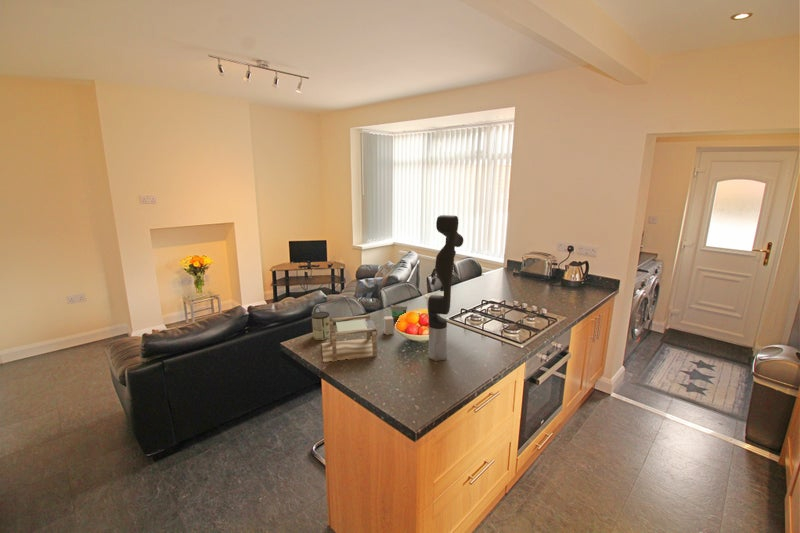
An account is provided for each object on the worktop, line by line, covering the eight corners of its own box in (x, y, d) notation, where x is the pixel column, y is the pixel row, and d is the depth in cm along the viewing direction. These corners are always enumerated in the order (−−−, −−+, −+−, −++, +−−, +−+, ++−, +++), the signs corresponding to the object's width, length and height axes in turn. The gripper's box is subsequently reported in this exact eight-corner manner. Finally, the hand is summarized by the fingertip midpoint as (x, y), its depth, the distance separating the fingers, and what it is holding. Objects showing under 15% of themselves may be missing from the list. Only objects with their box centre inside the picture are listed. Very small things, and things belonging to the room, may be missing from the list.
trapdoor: (377, 336, 192) (377, 328, 192) (338, 340, 188) (338, 333, 187) (372, 324, 210) (371, 317, 209) (336, 328, 205) (335, 321, 204)
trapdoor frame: (377, 355, 192) (376, 329, 189) (323, 362, 186) (321, 335, 182) (370, 338, 214) (369, 314, 211) (321, 344, 207) (320, 319, 204)
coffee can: (316, 332, 224) (314, 311, 221) (332, 333, 223) (331, 311, 220) (310, 339, 214) (309, 317, 211) (327, 340, 213) (326, 317, 210)
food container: (386, 320, 243) (386, 306, 241) (391, 317, 249) (391, 303, 247) (403, 323, 238) (403, 308, 236) (407, 320, 243) (407, 306, 241)
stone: (393, 334, 220) (393, 318, 218) (385, 335, 219) (385, 319, 217) (391, 331, 225) (391, 315, 223) (384, 332, 224) (383, 316, 222)
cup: (443, 319, 243) (444, 297, 240) (425, 319, 243) (425, 298, 240) (442, 313, 255) (442, 292, 252) (424, 313, 255) (424, 292, 252)
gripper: (433, 259, 226) (425, 282, 231) (449, 269, 216) (440, 293, 221) (441, 260, 231) (433, 282, 236) (457, 269, 221) (448, 293, 226)
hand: (436, 287), depth 229 cm, fingers open, 8 cm apart
